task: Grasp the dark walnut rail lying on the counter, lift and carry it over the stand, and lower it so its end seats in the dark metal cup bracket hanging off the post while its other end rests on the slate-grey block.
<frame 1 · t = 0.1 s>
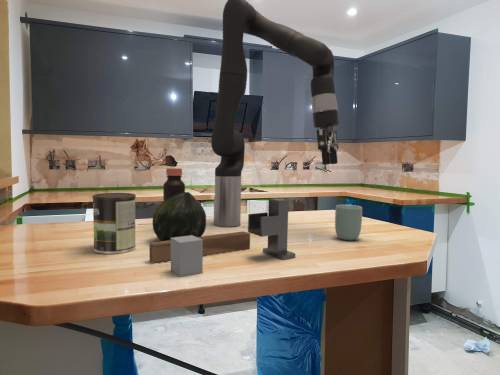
hand: (330, 164, 111), 22 cm above the counter, tool pointing down, fingers open, 8 cm apart
bracket: (277, 255, 91), on the counter
bottle: (174, 231, 118), on the counter
cup: (347, 239, 110), on the counter
coffee can: (115, 249, 94), on the counter
rest block: (186, 271, 77), on the counter
squash: (180, 241, 104), on the counter
rail: (203, 255, 91), on the counter
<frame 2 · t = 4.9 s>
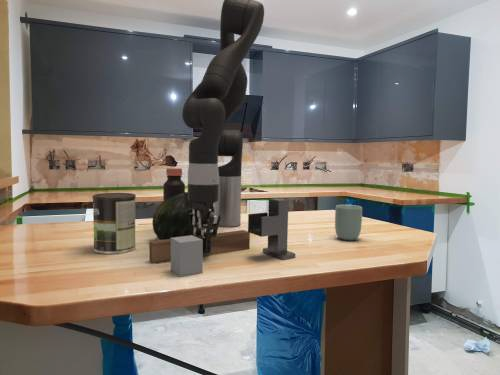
hand: (202, 251, 91), 1 cm above the counter, tool pointing down, fingers closed on rail, 3 cm apart
rail: (202, 254, 91), on the counter, touching gripper
everything else where it was.
when the fingers open (9 cm above the counter, at t = 9.0 s): rail stays where it is, resting on bracket, rest block.
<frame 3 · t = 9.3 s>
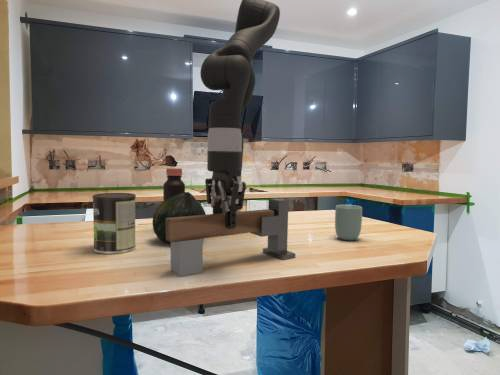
hand: (223, 225, 82), 9 cm above the counter, tool pointing down, fingers open, 5 cm apart
rail: (223, 234, 82), point 7 cm above the counter, touching bracket, rest block
everything else where it was.
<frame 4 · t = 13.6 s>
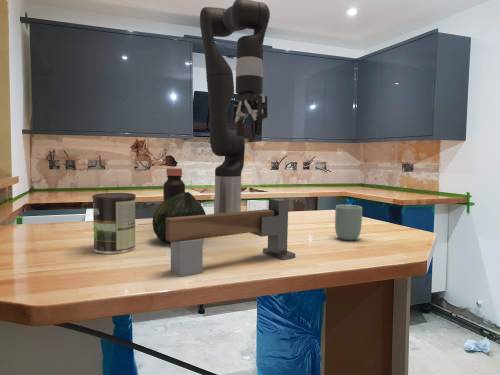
hand: (248, 135, 103), 30 cm above the counter, tool pointing down, fingers open, 8 cm apart
nothing on the counter moved.
at the end: rail 0.0 cm from the target spot, point 7.0 cm above the counter; rail tilted 0°; the gripper is holding nothing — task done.
